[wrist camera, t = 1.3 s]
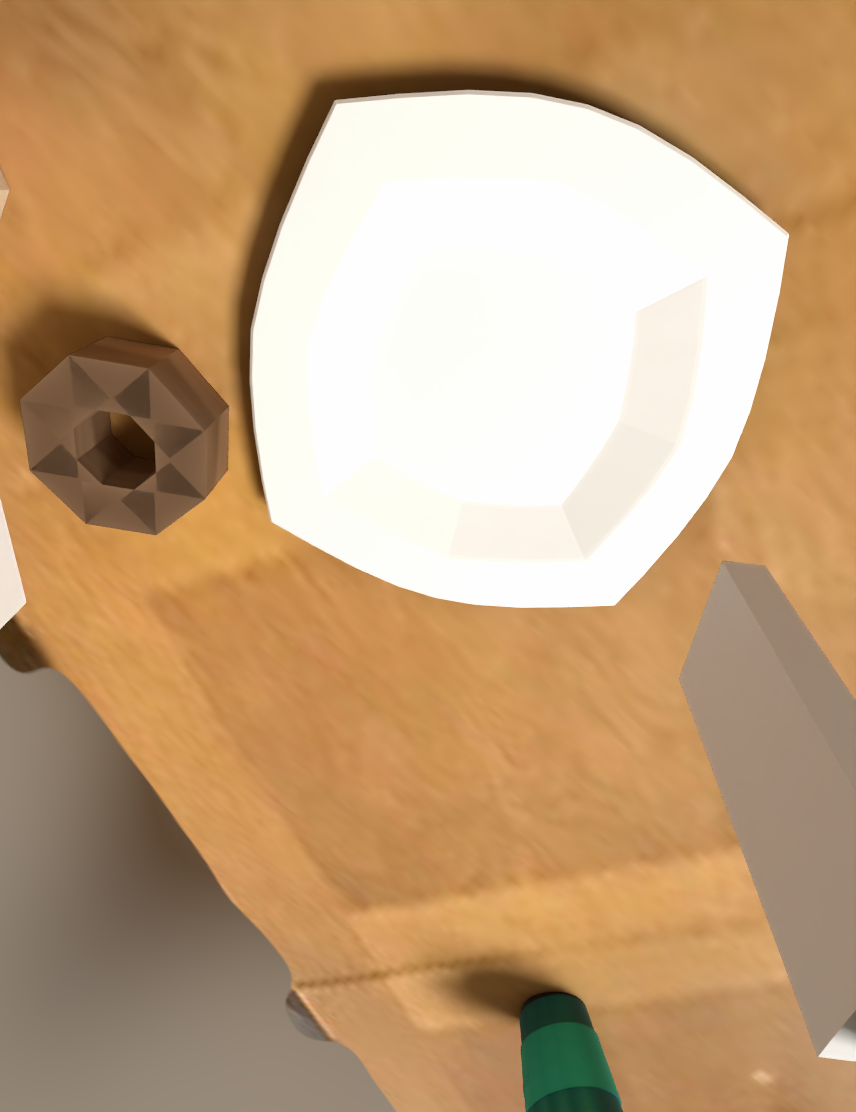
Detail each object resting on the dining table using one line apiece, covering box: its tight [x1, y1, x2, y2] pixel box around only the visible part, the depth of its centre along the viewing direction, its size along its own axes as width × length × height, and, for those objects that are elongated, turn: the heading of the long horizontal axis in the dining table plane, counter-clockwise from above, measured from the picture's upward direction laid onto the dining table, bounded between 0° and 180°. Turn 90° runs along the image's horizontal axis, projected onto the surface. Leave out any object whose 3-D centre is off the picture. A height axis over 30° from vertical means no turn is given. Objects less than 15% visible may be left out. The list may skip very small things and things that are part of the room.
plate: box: [250, 90, 789, 607], centre depth 33 cm, size 23×23×2 cm
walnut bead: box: [20, 337, 229, 535], centre depth 33 cm, size 8×8×4 cm
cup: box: [520, 992, 623, 1112], centre depth 54 cm, size 8×8×12 cm
